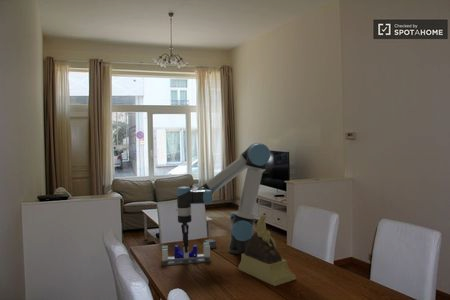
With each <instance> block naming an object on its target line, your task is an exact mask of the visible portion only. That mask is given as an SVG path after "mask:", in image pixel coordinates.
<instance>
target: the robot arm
mask: <svg viewBox="0 0 450 300" xmlns="http://www.w3.org/2000/svg"><path fill="white" fill-rule="evenodd" d="M270 158H271V150H270V149H269V147H268V146H267V145H265V144H264V143H261V142H260V143H259V142H254V143H252V144H250V145H249V146H248V148H246V149H245V150H244V151H243V152H242V153H240V156H239V157H237V158H236V160H234V161H233V162H231V163H230V164H229V165H227V166H226V167H225V168H224V169H222V170H221V171H220V172H218V173H217V174H216V175H215V176H213V177H211V179H209V180H208V181H206V182H205V183H203V184H202V185H201V186H199V187H198V188H197V189H195V190H193V189H191V187H190V186H179V187H177V188H176V203H177V204H176V206H177V207H176V208H177V209H176V212H177V222H178V224H181V225H180V226H181V228H180V229H181V234H182V245H181V246H182V252H184V258H189V252H190V251H189V243H190V242H189V227H190V226H189V224H188V223H191V222H192V205H194V204H195V205H197V204H199V205H200V204H201V205H202V204H203V205H204V204H206V205H207V204H211V203H213V194H215V193H216V192H217V191H218V190H220V189H221V188H222V187H223V186H225V185H226V184H228V183H229V182H230V181H232V180H233V179H234V178H236V177H237V176H238V175H240V174H241V173H242V172H244V171H245V170H246V173H245V177H244V182H243V188H242V191H241V195H240V201H239V205H238V210H237V211H233V212H231V213H230V215H229V220H230V241H229V245H228V252H229V253H230V254H234V255H241V254H243V253H245V249H246V245H247V243H248V242H249V240H250V238H251V236H252V235H253V234H254V227H255V221H256V217H255V215H254V212H255V208H256V203H257V199H258V194H259V189H260V186H261V182H262V177H263V172H265V171H266V170H267V168H268V167H267V166H268V163H269V161H270V160H271V159H270Z"/></svg>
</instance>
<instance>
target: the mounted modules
mask: <svg viewBox="0 0 450 300" xmlns="http://www.w3.org/2000/svg"><path fill="white" fill-rule="evenodd" d="M202 246H203V247H202V248H203V250H202V251H203V254H204V256H205V257H210V258H211V249H210V244H209V242H206V243H204V242H202ZM161 253H162V254H161V255H162V256H161V258H162V262H163V261H165V260H168V257H169V249H168V245H162V246H161Z"/></svg>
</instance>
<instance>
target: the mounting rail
mask: <svg viewBox="0 0 450 300" xmlns="http://www.w3.org/2000/svg"><path fill="white" fill-rule="evenodd" d="M210 262H212V260H211V256H210V257H205V256H204V253H197V257H189V258H174V256H173V255H172V256H168V260H165V261H162V267H163V266H177V265H178V266H179V265H188V264H199V263H200V264H201V263H210Z"/></svg>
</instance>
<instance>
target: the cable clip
mask: <svg viewBox="0 0 450 300" xmlns="http://www.w3.org/2000/svg"><path fill="white" fill-rule="evenodd" d="M197 254H198V244H193V247H192V250H191V251H189V257H197ZM173 255H174V258H184V252H183V250H181V249H180V246H179V244H176V245H174V253H173Z"/></svg>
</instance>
